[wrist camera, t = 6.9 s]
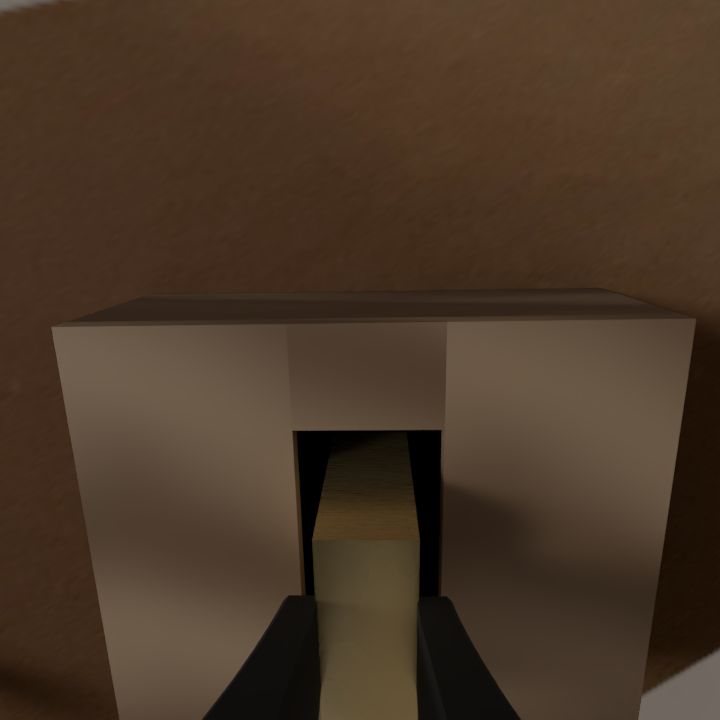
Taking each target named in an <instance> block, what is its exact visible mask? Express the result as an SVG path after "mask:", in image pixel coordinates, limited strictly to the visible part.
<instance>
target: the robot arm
mask: <svg viewBox="0 0 720 720" xmlns="http://www.w3.org/2000/svg"><path fill="white" fill-rule="evenodd" d="M320 697H321V677H320V658H319V638H318V618H317V601H315V595H288V596H287V597H286V598H285V599H284V600H283V602H282V604H281V606H280V607H279V609H278V611H277V613H276V614H275V616H274V618H273V619H272V621H271V623H270V624H269V626H268V628H267V629H266V631H265V632H264V634H263V636H262V637H261V639H260V640H259V642H258V643H257V645H256V646H255V648H254V649H253V651H252V652H251V654H250V655H249V657H248V658H247V660H246V661H245V662H244V664H243V665H242V667H241V668H240V670H239V671H238V673H237V674H236V675H235V677H234V678H233V680H232V681H231V682H230V684H229V685H228V686H227V688H226V689H225V690H224V691H223V693H222V694H221V695H220V697H219V698H218V699H217V701H216V702H215V703H214V704H213V706H212V707H211V708H210V710H209V711H208V712H207V713H206V715H205V716H204V717H203V719H202V720H319V709H320ZM417 708H418V720H521V718H520V717H519V716H518V714H517V713H516V711H515V710H514V709H513V707H512V706H511V704H510V703H509V701H508V700H507V698H506V697H505V695H504V694H503V692H502V691H501V689H500V688H499V686H498V684H497V683H496V681H495V680H494V678H493V676H492V675H491V673H490V672H489V670H488V668H487V667H486V665H485V664H484V662H483V660H482V659H481V657H480V655H479V654H478V652H477V650H476V648H475V647H474V645H473V643H472V641H471V639H470V638H469V636H468V634H467V632H466V630H465V628H464V626H463V624H462V622H461V620H460V618H459V616H458V614H457V612H456V610H455V607H454V605H453V602H452V601H451V600H450V599H449V598H448V597H447V596H419V602H417Z"/></svg>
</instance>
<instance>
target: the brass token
mask: <svg viewBox="0 0 720 720" xmlns="http://www.w3.org/2000/svg"><path fill="white" fill-rule="evenodd" d="M312 548H313V568H314V588H315V601H317V618H318V638H319V658H320V677H321V697H320V708H321V720H418V708H417V602H419V571H420V537H419V529H418V521H417V513H416V505H415V497H414V489H413V480H412V472H411V464H410V456H409V448H408V440H407V432H334V435H333V440H332V445H331V450H330V455H329V460H328V465H327V470H326V474H325V479H324V484H323V489H322V494H321V499H320V504H319V509H318V514H317V518H316V523H315V528H314V533H313V538H312Z"/></svg>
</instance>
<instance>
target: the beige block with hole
mask: <svg viewBox="0 0 720 720" xmlns="http://www.w3.org/2000/svg"><path fill="white" fill-rule="evenodd" d="M695 325H696V318H693V317H690V316H686V315H683V314H680V313H677V312H674V311H671V310H668V309H664V308H661V307H658V306H655V305H652V304H649V303H645V302H642V301H639V300H636V299H633V298H630V297H627V296H623V295H620V294H617V293H614V292H611V291H608V290H605V289H601V288H567V289H502V290H437V291H372V292H306V293H241V294H176V295H146V296H143V297H140V298H137V299H134V300H131V301H128V302H125V303H122V304H119V305H116V306H113V307H110V308H107V309H104V310H101V311H98V312H95V313H92V314H89V315H86V316H83V317H80V318H77V319H74V320H71V321H68V322H65V323H62V324H59V325H56V326H53V327H52V333H53V339H54V345H55V350H56V356H57V362H58V368H59V374H60V379H61V385H62V391H63V397H64V402H65V408H66V414H67V420H68V425H69V431H70V437H71V443H72V449H73V454H74V460H75V466H76V472H77V477H78V483H79V489H80V495H81V500H82V506H83V512H84V518H85V523H86V529H87V535H88V541H89V547H90V552H91V558H92V564H93V570H94V575H95V581H96V587H97V593H98V598H99V604H100V610H101V616H102V622H103V627H104V633H105V639H106V645H107V650H108V656H109V662H110V668H111V673H112V679H113V685H114V691H115V697H116V702H117V708H118V714H119V720H202V719H203V717H204V716H205V715H206V713H207V712H208V711H209V710H210V708H211V707H212V706H213V704H214V703H215V702H216V701H217V699H218V698H219V697H220V695H221V694H222V693H223V691H224V690H225V689H226V688H227V686H228V685H229V684H230V682H231V681H232V680H233V678H234V677H235V675H236V674H237V673H238V671H239V670H240V668H241V667H242V665H243V664H244V662H245V661H246V660H247V658H248V657H249V655H250V654H251V652H252V651H253V649H254V648H255V646H256V645H257V643H258V642H259V640H260V639H261V637H262V636H263V634H264V632H265V631H266V629H267V628H268V626H269V624H270V623H271V621H272V619H273V618H274V616H275V614H276V613H277V611H278V609H279V607H280V606H281V604H282V602H283V600H284V599H285V598H286V597H287V596H288V595H306V592H305V574H304V555H303V537H302V519H301V501H300V482H299V464H298V446H297V431H327V430H442V437H441V484H440V532H439V579H438V596H447V597H448V598H449V599H450V600H451V601H452V602H453V605H454V607H455V610H456V612H457V614H458V616H459V618H460V620H461V622H462V624H463V626H464V628H465V630H466V632H467V634H468V636H469V638H470V639H471V641H472V643H473V645H474V647H475V648H476V650H477V652H478V654H479V655H480V657H481V659H482V660H483V662H484V664H485V665H486V667H487V668H488V670H489V672H490V673H491V675H492V676H493V678H494V680H495V681H496V683H497V684H498V686H499V688H500V689H501V691H502V692H503V694H504V695H505V697H506V698H507V700H508V701H509V703H510V704H511V706H512V707H513V709H514V710H515V711H516V713H517V714H518V716H519V717H520V718H521V720H638V716H639V710H640V703H641V696H642V689H643V682H644V675H645V668H646V662H647V655H648V648H649V641H650V634H651V627H652V620H653V614H654V607H655V600H656V593H657V586H658V579H659V572H660V565H661V559H662V552H663V545H664V538H665V531H666V524H667V517H668V511H669V504H670V497H671V490H672V483H673V476H674V469H675V463H676V456H677V449H678V442H679V435H680V428H681V421H682V415H683V408H684V401H685V394H686V387H687V380H688V373H689V366H690V360H691V353H692V346H693V339H694V332H695ZM319 720H321V708H320V709H319Z"/></svg>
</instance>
